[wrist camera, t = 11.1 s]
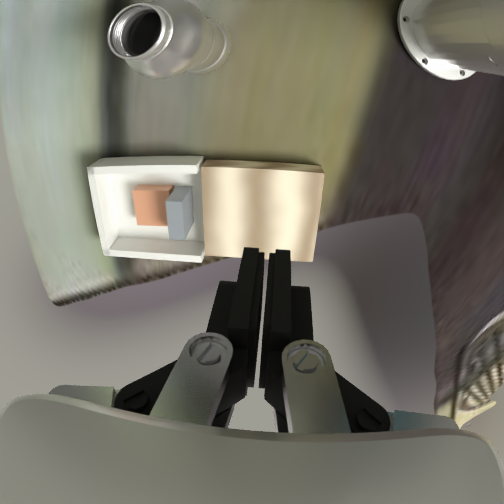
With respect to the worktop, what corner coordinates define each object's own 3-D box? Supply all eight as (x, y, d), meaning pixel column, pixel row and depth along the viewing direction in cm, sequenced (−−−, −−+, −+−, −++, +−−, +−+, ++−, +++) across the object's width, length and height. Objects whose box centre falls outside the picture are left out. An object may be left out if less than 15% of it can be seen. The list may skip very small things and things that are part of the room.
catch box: (203, 155, 38) (196, 165, 35) (207, 246, 45) (201, 262, 42) (101, 158, 39) (86, 167, 35) (115, 240, 46) (104, 255, 42)
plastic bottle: (247, 44, 30) (215, 18, 14) (205, 85, 33) (136, 105, 16) (206, 11, 28) (137, -38, 11) (167, 52, 31) (69, 48, 14)
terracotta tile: (132, 190, 38) (137, 184, 40) (137, 225, 41) (142, 218, 43) (168, 190, 38) (173, 184, 40) (172, 226, 41) (176, 219, 43)
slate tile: (181, 201, 36) (165, 201, 36) (185, 240, 38) (169, 239, 38) (192, 186, 40) (177, 185, 40) (194, 221, 43) (179, 220, 43)
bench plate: (321, 165, 38) (324, 173, 35) (310, 249, 44) (312, 261, 42) (206, 159, 38) (201, 166, 36) (209, 243, 45) (205, 255, 42)
